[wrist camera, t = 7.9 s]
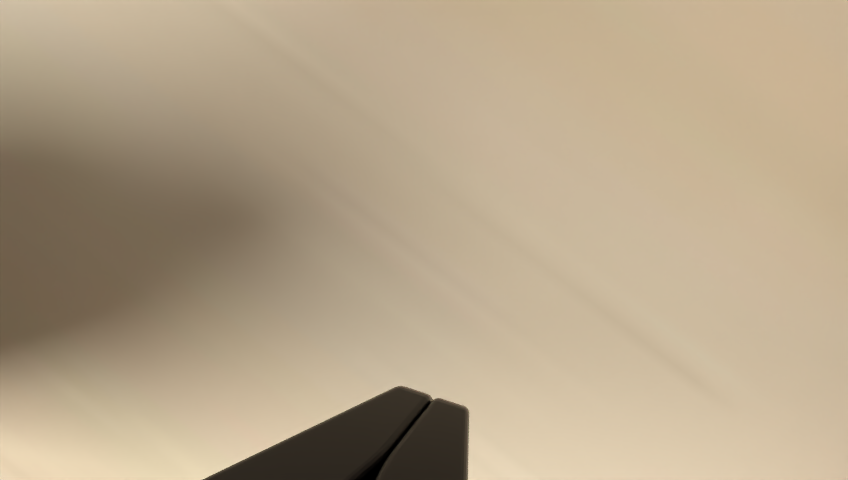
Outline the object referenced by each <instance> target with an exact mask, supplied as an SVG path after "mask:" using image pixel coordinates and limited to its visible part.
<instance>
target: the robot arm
mask: <svg viewBox="0 0 848 480" xmlns="http://www.w3.org/2000/svg"><path fill="white" fill-rule="evenodd" d="M468 441H469V411H468V409H467V408H466V407H465V406H462V405H459V404H456V403H453V402H450V401H447V400H444V399H441V398H437V399H434V400H433V399H432V398H431V396H430V395H428V394H426V393H423V392H420V391H416V390H413V389H410V388H407V387H403V386H398V387H395V388H393V389H391V390H389V391H386V392H384V393H382V394H380V395H378V396H376V397H374V398H372V399H370V400H368V401H366V402H363V403H361V404H359V405H357V406H355V407H353V408H351V409H349V410H347V411H345V412H343V413H341V414H338V415H336V416H334V417H332V418H330V419H328V420H326V421H324V422H322V423H320V424H318V425H316V426H313V427H311V428H309V429H307V430H305V431H303V432H301V433H299V434H297V435H295V436H293V437H290V438H288V439H286V440H284V441H282V442H280V443H278V444H276V445H274V446H272V447H270V448H268V449H265V450H263V451H261V452H259V453H257V454H255V455H253V456H251V457H249V458H247V459H245V460H243V461H240V462H238V463H236V464H234V465H232V466H230V467H228V468H226V469H224V470H222V471H220V472H218V473H215V474H213V475H211V476H209V477H207V478H205V479H203V480H468Z"/></svg>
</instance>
